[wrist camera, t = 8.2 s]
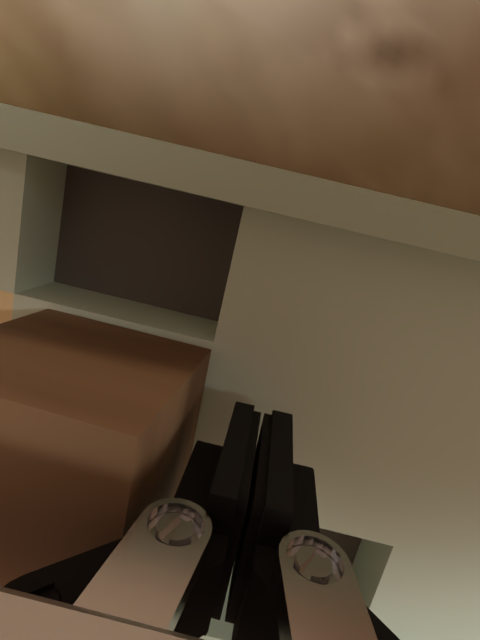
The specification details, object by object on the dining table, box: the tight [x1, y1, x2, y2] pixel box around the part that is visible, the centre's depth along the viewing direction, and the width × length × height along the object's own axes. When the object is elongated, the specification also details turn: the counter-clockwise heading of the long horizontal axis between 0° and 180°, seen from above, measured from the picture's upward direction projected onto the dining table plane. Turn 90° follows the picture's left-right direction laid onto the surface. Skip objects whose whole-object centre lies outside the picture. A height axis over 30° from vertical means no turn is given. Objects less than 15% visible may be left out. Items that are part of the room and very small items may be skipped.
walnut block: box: [0, 309, 211, 587], centre depth 10 cm, size 5×5×5 cm
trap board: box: [0, 103, 480, 640], centre depth 13 cm, size 26×15×4 cm, turn 77°
